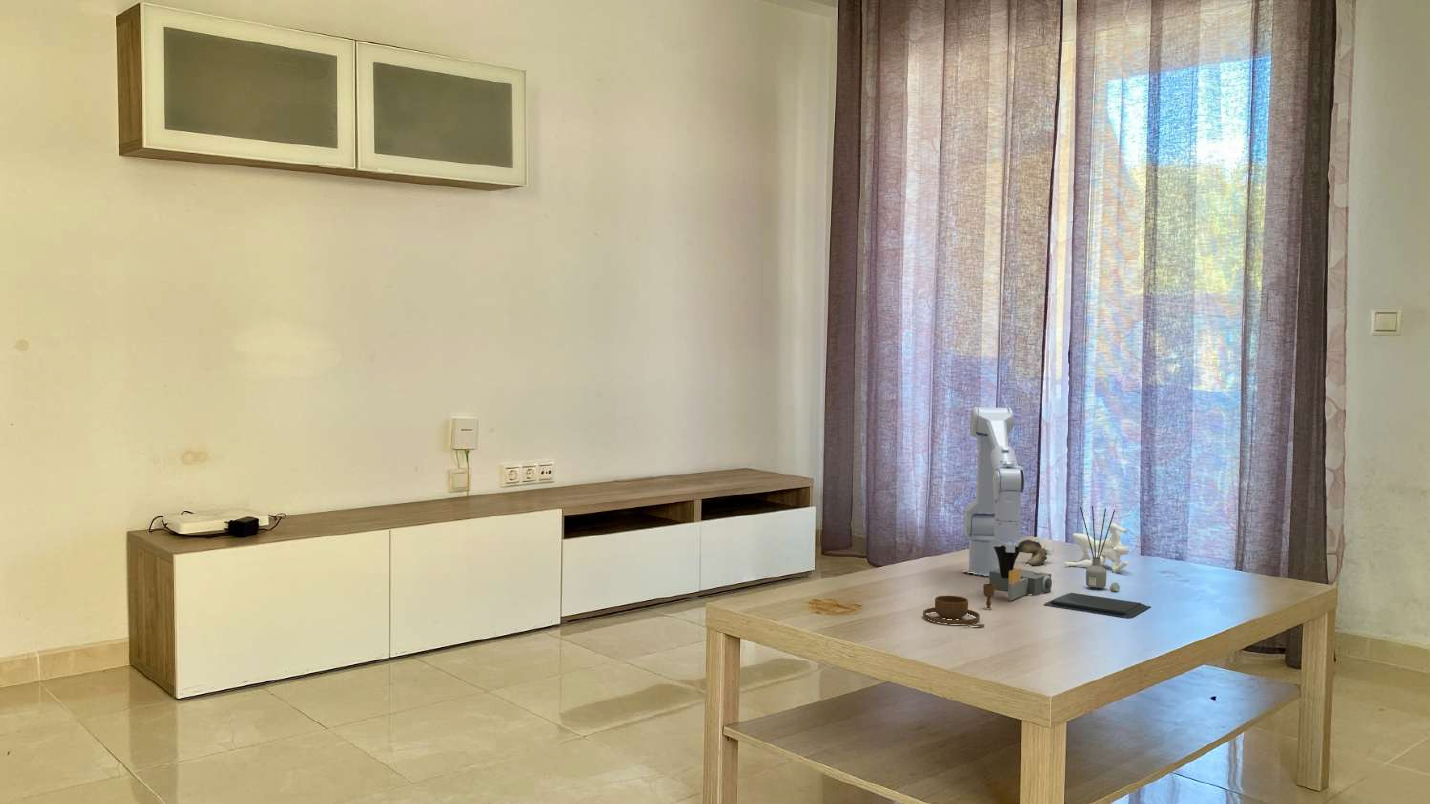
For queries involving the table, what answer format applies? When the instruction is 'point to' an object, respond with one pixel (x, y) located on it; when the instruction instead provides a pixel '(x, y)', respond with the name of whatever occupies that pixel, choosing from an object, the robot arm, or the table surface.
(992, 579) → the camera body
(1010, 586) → the side hatch
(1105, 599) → the wallet
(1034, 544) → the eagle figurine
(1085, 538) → the person figurine
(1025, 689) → the table surface
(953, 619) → the place setting
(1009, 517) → the robot arm
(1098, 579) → the reed diffuser
